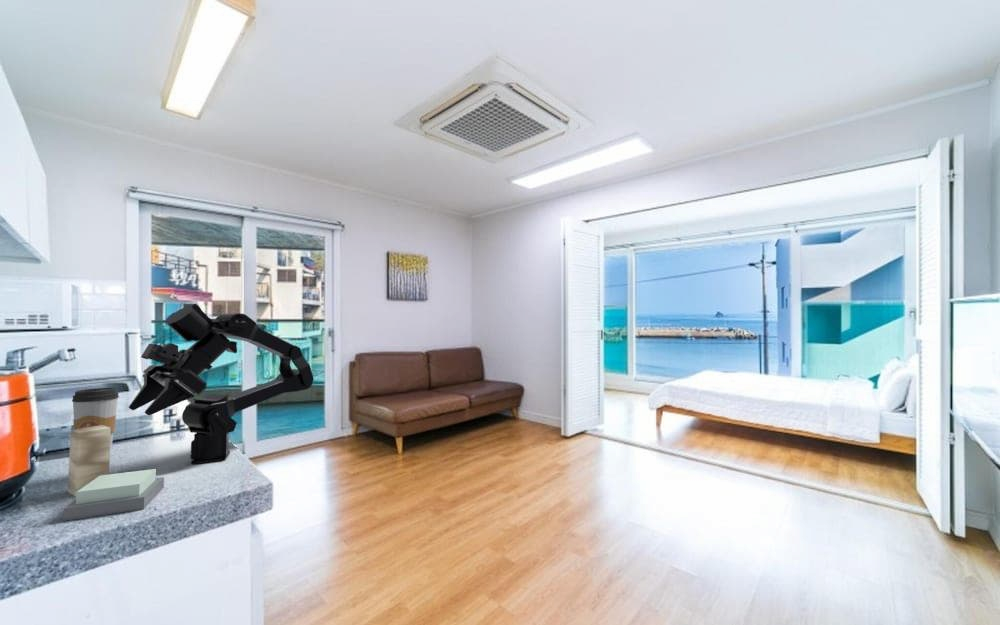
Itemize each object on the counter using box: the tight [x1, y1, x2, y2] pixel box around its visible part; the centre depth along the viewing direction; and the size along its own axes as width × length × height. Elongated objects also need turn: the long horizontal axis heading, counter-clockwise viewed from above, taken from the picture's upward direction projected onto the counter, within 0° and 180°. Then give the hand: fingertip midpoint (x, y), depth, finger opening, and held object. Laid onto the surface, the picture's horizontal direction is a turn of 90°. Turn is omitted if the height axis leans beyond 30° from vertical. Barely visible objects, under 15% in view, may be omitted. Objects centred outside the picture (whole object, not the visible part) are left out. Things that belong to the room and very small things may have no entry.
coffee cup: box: [71, 387, 120, 447], centre depth 100 cm, size 8×8×15 cm
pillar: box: [67, 425, 111, 497], centre depth 76 cm, size 4×4×12 cm
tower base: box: [63, 468, 165, 522], centre depth 70 cm, size 10×10×4 cm
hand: (138, 411), depth 83 cm, fingers open, 9 cm apart
